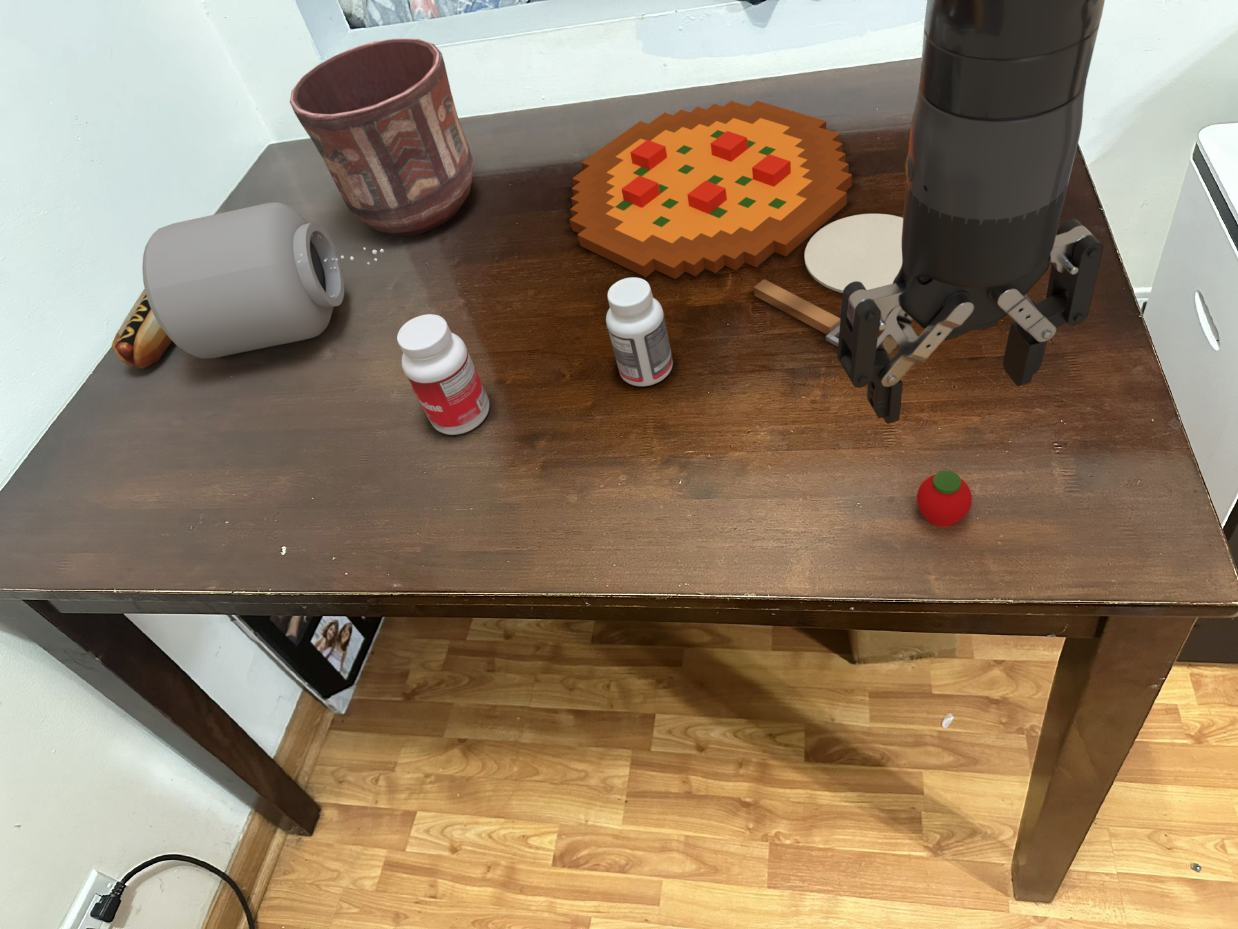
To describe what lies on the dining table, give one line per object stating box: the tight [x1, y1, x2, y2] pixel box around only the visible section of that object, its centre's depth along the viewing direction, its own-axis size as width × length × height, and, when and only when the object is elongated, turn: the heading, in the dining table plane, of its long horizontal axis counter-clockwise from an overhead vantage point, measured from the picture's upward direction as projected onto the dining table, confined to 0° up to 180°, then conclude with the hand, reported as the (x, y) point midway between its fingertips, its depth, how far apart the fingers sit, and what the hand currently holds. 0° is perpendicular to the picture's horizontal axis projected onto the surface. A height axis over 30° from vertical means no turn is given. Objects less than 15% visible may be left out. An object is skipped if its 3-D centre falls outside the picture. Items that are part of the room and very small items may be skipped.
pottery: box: [289, 37, 474, 237], centre depth 104 cm, size 18×18×18 cm
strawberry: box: [916, 469, 973, 528], centre depth 67 cm, size 4×4×4 cm
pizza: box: [568, 100, 853, 280], centre depth 101 cm, size 32×32×3 cm
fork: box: [753, 278, 841, 348], centre depth 84 cm, size 15×3×1 cm, turn 41°
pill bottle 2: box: [605, 276, 674, 387], centre depth 81 cm, size 5×5×10 cm
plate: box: [804, 213, 903, 294], centre depth 89 cm, size 13×13×1 cm
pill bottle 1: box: [396, 313, 490, 436], centre depth 82 cm, size 6×6×11 cm
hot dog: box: [111, 288, 173, 369], centre depth 102 cm, size 5×13×5 cm, turn 176°
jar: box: [141, 201, 385, 360], centre depth 94 cm, size 19×15×25 cm
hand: (951, 394), depth 55 cm, fingers open, 8 cm apart
